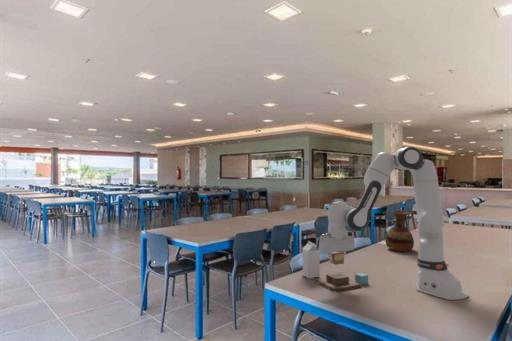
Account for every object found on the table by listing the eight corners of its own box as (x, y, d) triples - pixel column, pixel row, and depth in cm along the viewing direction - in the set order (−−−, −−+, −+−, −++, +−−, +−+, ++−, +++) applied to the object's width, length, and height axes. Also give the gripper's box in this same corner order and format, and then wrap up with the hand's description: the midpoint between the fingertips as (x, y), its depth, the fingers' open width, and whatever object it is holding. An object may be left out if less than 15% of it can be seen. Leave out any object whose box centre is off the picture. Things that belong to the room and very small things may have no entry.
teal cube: (368, 284, 163) (367, 275, 163) (361, 285, 161) (361, 276, 162) (362, 281, 167) (361, 272, 167) (355, 282, 166) (355, 273, 166)
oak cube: (343, 263, 161) (343, 253, 161) (335, 264, 159) (335, 254, 160) (337, 261, 166) (337, 251, 166) (329, 262, 164) (329, 252, 164)
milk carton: (308, 278, 172) (307, 243, 172) (302, 275, 178) (302, 241, 179) (319, 277, 174) (319, 243, 174) (314, 274, 180) (313, 240, 181)
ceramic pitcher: (387, 251, 234) (386, 211, 235) (384, 246, 254) (383, 209, 255) (416, 253, 229) (415, 212, 230) (411, 247, 248) (410, 209, 249)
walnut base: (360, 287, 158) (360, 278, 158) (334, 291, 152) (334, 282, 152) (340, 278, 173) (340, 269, 173) (315, 281, 167) (315, 273, 167)
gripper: (323, 235, 156) (323, 263, 156) (356, 232, 164) (356, 259, 164) (316, 233, 162) (316, 260, 162) (348, 230, 170) (348, 256, 169)
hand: (336, 259), depth 163 cm, fingers closed on oak cube, 5 cm apart
